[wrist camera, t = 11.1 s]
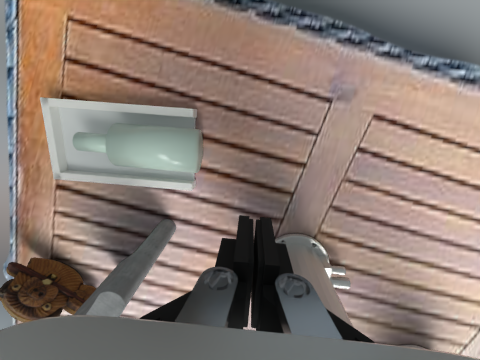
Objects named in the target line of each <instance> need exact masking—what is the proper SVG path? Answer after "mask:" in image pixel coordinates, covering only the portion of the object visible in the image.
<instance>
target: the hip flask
mask: <svg viewBox="0 0 480 360" xmlns="http://www.w3.org/2000/svg"><path fill="white" fill-rule="evenodd" d="M175 230H176V225H175V223H174V222H173V221H171V220H169V219H165V220H162V221H161V222H160V223H159V224H158V226H157V227H156V228H155V229H154V230H153V231H152V233H151V234H150V235H149V236H148V237H147V239H146V240H145V241H144V242H143V243H142V244H141V246H140V247H139V248H138V249H137V250H136V251H135V252H134V253H133V254H132V255H130V256H129V257H127V258H126V259H124V260H123V261H121V262H120V263H119V264H118V265H117V267H116V268H115V269H114V270H113V271H112V272H111V273H110V274H109V276H108V277H107V278H106V279H105V280H104V281H103V282H102V283H101V285H100V286H99V287H98V288H97V289H96V290H95V291H94V292H93V294H92V295H91V296H90V297H89V298H88V299H87V300H86V301H85V303H84V304H83V305H82V306H81V307H80V308H79V309H78V310H77V312H76V313H75V314H74V315H94V316H110V317H119V316H120V315H121V313H122V312H123V310H124V309H125V307H126V306H127V304H128V303H129V301H130V299H131V298H132V296H133V295H134V293H135V292H136V290H137V289H138V287H139V286H140V284H141V283H142V281H143V280H144V278H145V277H146V275H147V273H148V272H149V270H150V269H151V267H152V266H153V264H154V263H155V261H156V260H157V258H158V257H159V255H160V254H161V252H162V251H163V249H164V247H165V246H166V244H167V243H168V241H169V240H170V238H171V237H172V235H173V234H174V232H175Z"/></svg>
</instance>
